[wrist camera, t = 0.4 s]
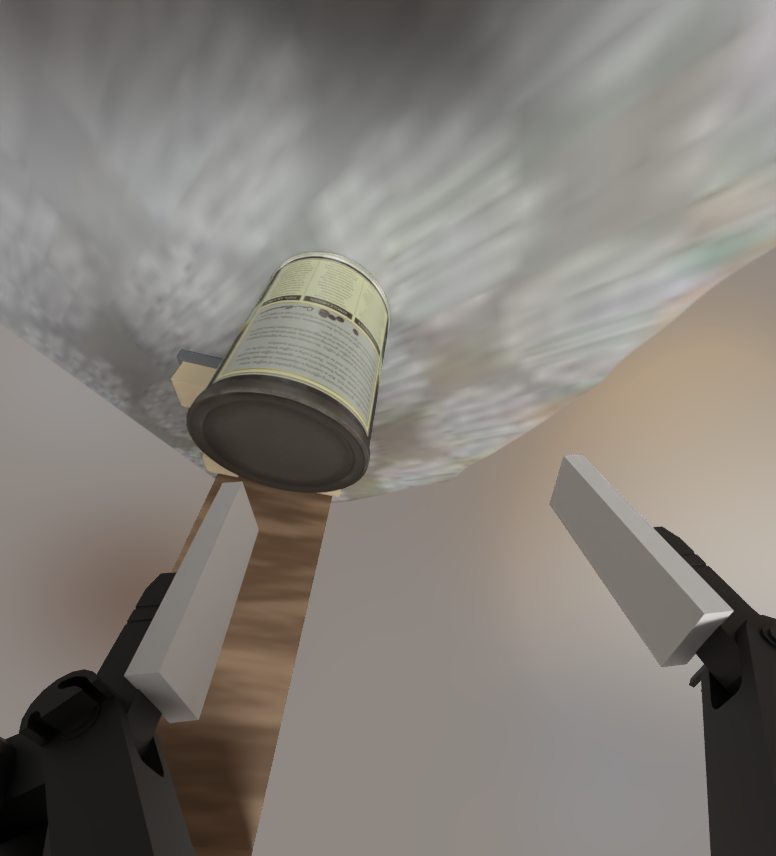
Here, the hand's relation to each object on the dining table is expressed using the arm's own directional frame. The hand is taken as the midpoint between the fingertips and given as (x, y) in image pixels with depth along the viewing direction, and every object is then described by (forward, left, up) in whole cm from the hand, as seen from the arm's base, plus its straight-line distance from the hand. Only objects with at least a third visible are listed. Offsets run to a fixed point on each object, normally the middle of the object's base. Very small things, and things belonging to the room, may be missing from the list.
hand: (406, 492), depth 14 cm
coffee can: (+5, -6, -18) cm, 20 cm away
